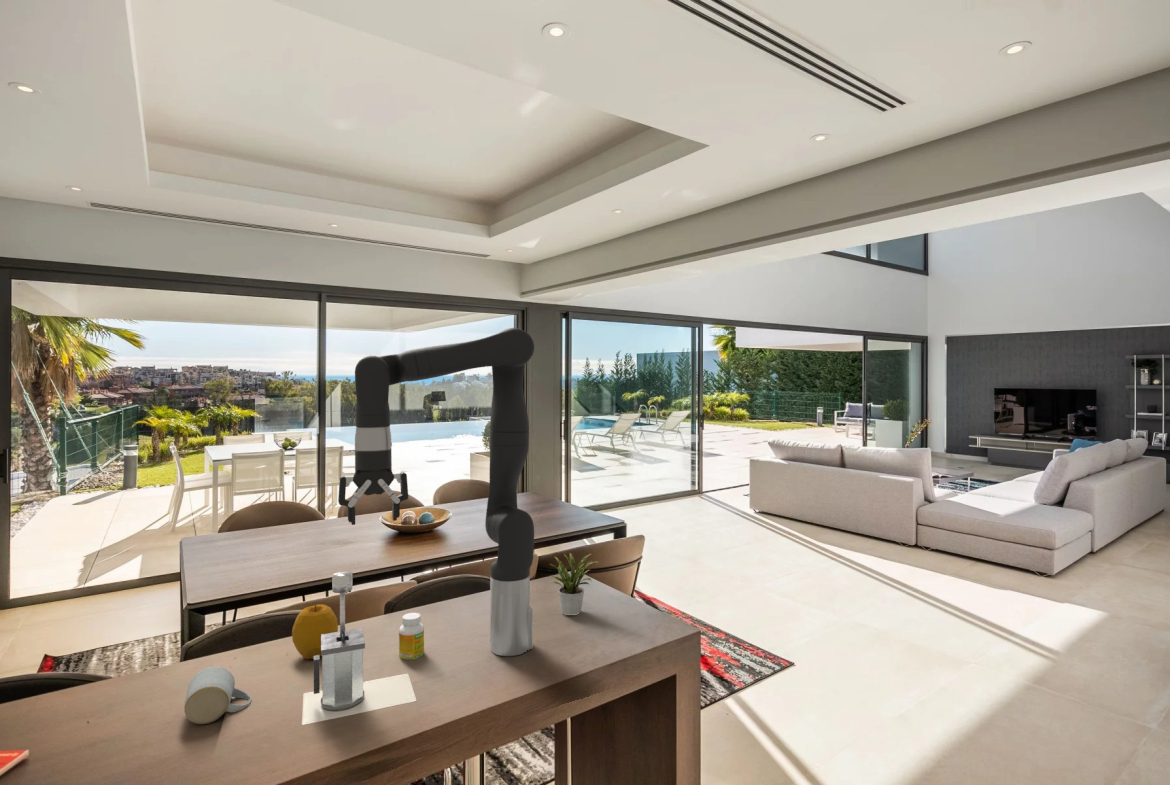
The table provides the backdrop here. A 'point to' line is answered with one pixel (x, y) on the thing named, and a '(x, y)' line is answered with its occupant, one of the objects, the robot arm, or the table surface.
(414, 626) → the supplement bottle
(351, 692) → the press
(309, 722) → the plate
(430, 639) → the table surface
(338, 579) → the plunger
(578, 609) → the house plant
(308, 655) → the apple
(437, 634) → the table surface
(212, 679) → the ceramic mug
